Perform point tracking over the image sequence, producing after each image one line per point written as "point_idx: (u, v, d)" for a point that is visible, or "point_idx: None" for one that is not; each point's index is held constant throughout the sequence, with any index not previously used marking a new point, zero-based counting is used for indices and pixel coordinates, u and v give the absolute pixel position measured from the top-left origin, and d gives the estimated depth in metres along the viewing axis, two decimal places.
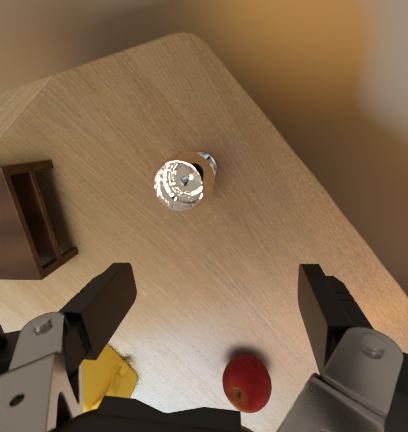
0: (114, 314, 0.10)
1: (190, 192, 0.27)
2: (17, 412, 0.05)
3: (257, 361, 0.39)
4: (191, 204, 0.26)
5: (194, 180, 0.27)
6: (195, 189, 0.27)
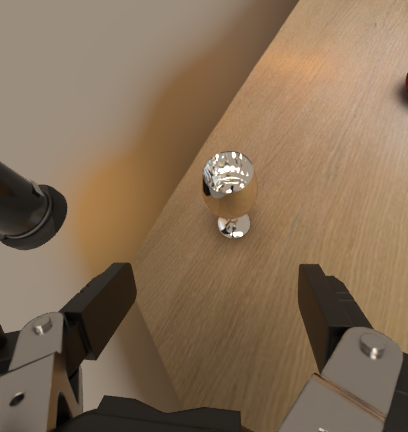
0: (114, 314, 0.10)
1: None
2: (17, 412, 0.05)
3: (406, 83, 0.34)
4: None
5: None
6: None
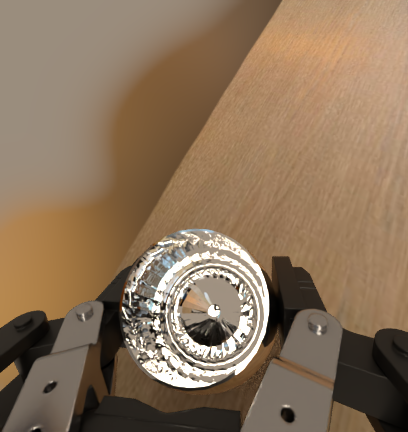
0: None
1: (247, 298, 0.12)
2: (48, 400, 0.05)
3: None
4: None
5: (222, 303, 0.13)
6: (237, 291, 0.12)
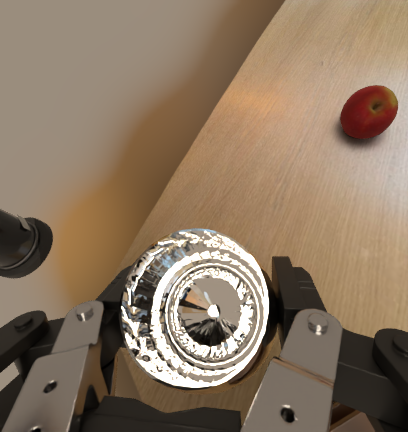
0: None
1: (247, 298, 0.12)
2: (48, 400, 0.05)
3: None
4: (260, 275, 0.11)
5: (222, 302, 0.13)
6: (237, 291, 0.12)
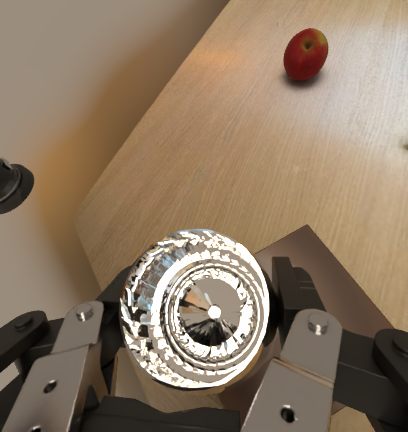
0: None
1: (247, 298, 0.12)
2: (48, 400, 0.05)
3: (284, 66, 0.45)
4: None
5: (222, 303, 0.13)
6: (237, 291, 0.12)
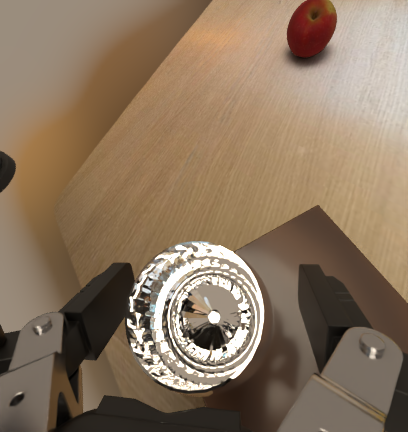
0: (114, 314, 0.10)
1: (246, 304, 0.12)
2: (17, 412, 0.05)
3: (288, 42, 0.41)
4: None
5: (222, 308, 0.13)
6: (236, 297, 0.13)
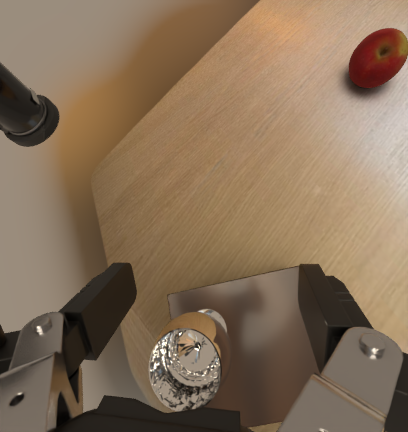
0: (114, 314, 0.10)
1: None
2: (17, 412, 0.05)
3: None
4: None
5: (204, 339, 0.20)
6: None
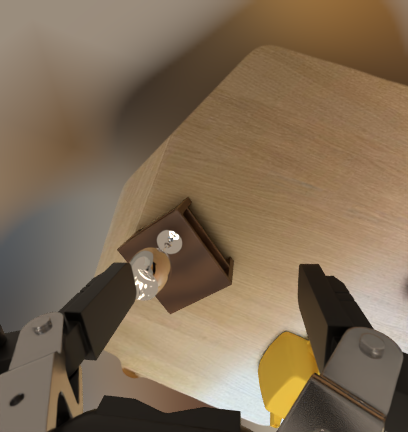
0: (114, 314, 0.10)
1: None
2: (17, 412, 0.05)
3: None
4: None
5: None
6: None
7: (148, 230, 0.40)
